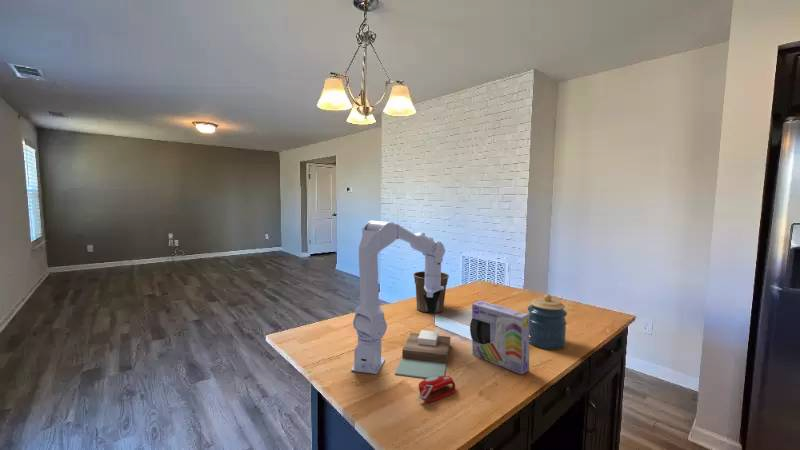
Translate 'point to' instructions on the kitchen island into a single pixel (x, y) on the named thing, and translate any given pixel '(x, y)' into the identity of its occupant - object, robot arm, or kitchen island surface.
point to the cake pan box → (500, 336)
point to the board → (426, 349)
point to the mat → (420, 368)
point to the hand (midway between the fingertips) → (431, 311)
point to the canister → (547, 323)
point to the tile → (428, 338)
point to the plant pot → (420, 291)
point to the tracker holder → (435, 387)
